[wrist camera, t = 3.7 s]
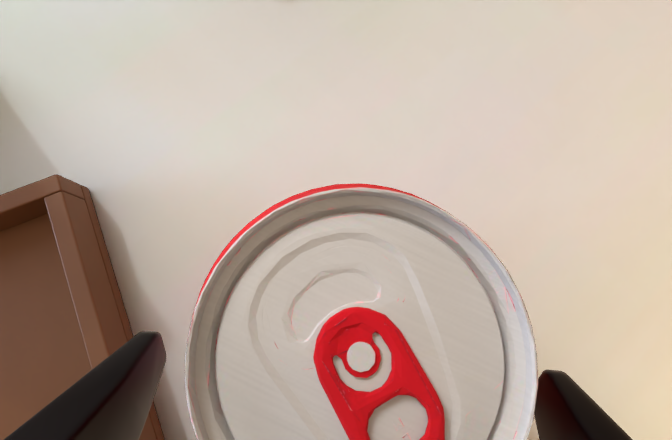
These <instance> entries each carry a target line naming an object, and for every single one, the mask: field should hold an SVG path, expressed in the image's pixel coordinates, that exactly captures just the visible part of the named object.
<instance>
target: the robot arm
mask: <svg viewBox="0 0 672 440" xmlns="http://www.w3.org/2000/svg"><path fill="white" fill-rule="evenodd" d="M165 362H166V352H165V348H164V345H163V341H162V337H161V335H160V334H159V333H158V332H151V331H142V332H140V333H138V334H137V335H135V336H134V337H133V338H131V339H130V340H129V341H128V342H126V343H125V344H124V345H123V346H121V347H120V348H119V349H118V350H116V351H115V352H114V353H112V354H111V355H110V356H109V357H107V358H106V359H105V360H104V361H102V362H101V363H100V364H99V365H97V366H96V367H95V368H94V369H92V370H91V371H90V372H88V373H87V374H86V375H85V376H83V377H82V378H81V379H80V380H78V381H77V382H76V383H75V384H73V385H72V386H71V387H69V388H68V389H67V390H66V391H64V392H63V393H62V394H61V395H59V396H58V397H57V398H56V399H54V400H53V401H52V402H50V403H49V404H48V405H47V406H45V407H44V408H43V409H42V410H40V411H39V412H38V413H37V414H35V415H34V416H33V417H32V418H30V419H29V420H28V421H26V422H25V423H24V424H23V425H21V426H20V427H19V428H18V429H16V430H15V431H14V432H13V433H11V434H10V435H9V436H7V437H6V438H5V439H4V440H139V437H140V435H141V433H142V430H143V428H144V425H145V422H146V419H147V416H148V413H149V410H150V407H151V405H152V402H153V399H154V396H155V393H156V390H157V387H158V384H159V381H160V378H161V375H162V372H163V369H164V366H165ZM534 415H535V420H536V425H537V430H538V435H539V440H632V439H631V438H630V437H629V436H628V435H627V434H626V433H625V432H624V431H623V430H622V429H621V428H620V427H619V426H618V425H617V424H616V423H615V422H614V421H613V420H612V419H611V418H610V417H609V416H608V415H607V414H606V413H605V412H604V411H603V410H602V409H601V408H600V407H599V406H598V405H597V404H596V403H595V402H594V401H593V400H592V399H591V398H590V397H589V396H588V395H587V394H586V393H585V392H584V391H583V390H582V389H581V388H580V387H579V386H578V385H577V384H576V383H575V382H574V381H573V380H572V379H571V378H570V377H569V376H568V375H567V374H566V373H564V372H562V371H556V370H545V371H543V372H542V374H541V375H540V377H539V379H538V390H537V397H536V404H535V411H534Z"/></svg>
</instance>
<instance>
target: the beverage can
mask: <svg viewBox="0 0 672 440" xmlns="http://www.w3.org/2000/svg"><path fill="white" fill-rule="evenodd" d="M185 387H186V397H187V404H188V409H189V413H190V418H191V423H192V426H193V429H194V431H195V434H196V437H197V440H527V439H528V435H529V432H530V429H531V425H532V422H533V418H534V411H535V404H536V397H537V390H538V370H537V353H536V346H535V341H534V335H533V330H532V325H531V322H530V319H529V316H528V313H527V310H526V308H525V305H524V302H523V299H522V297H521V295H520V293H519V291H518V289H517V287H516V285H515V283H514V281H513V279H512V278H511V276H510V274H509V272H508V270H507V269H506V268H505V266H504V265H503V264H502V262H501V261H500V260H499V259H498V257H497V256H496V255H495V253H494V252H493V251H492V249H491V248H490V247H489V246H488V245H487V244H486V243H485V242H484V241H483V240H482V239H481V238H480V237H479V236H478V235H477V234H476V233H475V232H474V231H473V230H471V229H470V228H469V227H468V226H467V225H465V224H464V223H463V222H461V221H460V220H458V219H457V218H455V217H454V216H453V215H451V214H450V213H448V212H446V211H445V210H443V209H441V208H439V207H438V206H436V205H434V204H432V203H430V202H428V201H426V200H424V199H422V198H419V197H417V196H415V195H413V194H410V193H407V192H403V191H400V190H397V189H393V188H389V187H383V186H377V185H370V184H336V185H331V186H326V187H321V188H316V189H311V190H308V191H305V192H303V193H300V194H297V195H294V196H291V197H289V198H287V199H285V200H283V201H281V202H279V203H277V204H275V205H273V206H272V207H270V208H269V209H267V210H266V211H264V212H263V213H262V214H260V215H259V216H258V217H256V218H255V219H253V220H252V221H251V222H249V223H248V224H247V225H246V226H245V227H244V228H243V229H242V230H241V231H240V232H239V233H238V234H237V235H236V236H235V237H234V238H233V239H232V240H231V241H230V243H229V244H228V245H227V246H226V247H225V249H224V250H223V251H222V253H221V254H220V256H219V257H218V259H217V260H216V262H215V263H214V265H213V267H212V268H211V270H210V272H209V274H208V276H207V278H206V280H205V282H204V284H203V287H202V289H201V291H200V294H199V297H198V300H197V303H196V306H195V310H194V313H193V317H192V321H191V324H190V329H189V335H188V340H187V347H186V356H185Z"/></svg>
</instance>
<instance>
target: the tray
mask: <svg viewBox="0 0 672 440" xmlns="http://www.w3.org/2000/svg"><path fill="white" fill-rule="evenodd" d="M131 338H133V334H132V331H131V327H130V324H129V321H128V318H127V314H126V311H125V308H124V304H123V301H122V298H121V295H120V291H119V288H118V285H117V281H116V278H115V275H114V271H113V268H112V265H111V262H110V258H109V255H108V252H107V248H106V245H105V242H104V238H103V235H102V232H101V229H100V225H99V222H98V219H97V215H96V212H95V209H94V206H93V202H92V199H91V196H90V192H89V189H88V188H87V187H84V186H82V185H79V184H77V183H75V182H73V181H71V180H69V179H66V178H64V177H62V176H60V175H53V176H50V177H48V178H45V179H42V180H40V181H37V182H34V183H32V184H29V185H26V186H24V187H21V188H18V189H15V190H13V191H10V192H7V193H5V194H2V195H0V440H4V439H5V438H6V437H7V436H9V435H10V434H11V433H13V432H14V431H15V430H16V429H18V428H19V427H20V426H21V425H23V424H24V423H25V422H26V421H28V420H29V419H30V418H32V417H33V416H34V415H35V414H37V413H38V412H39V411H40V410H42V409H43V408H44V407H45V406H47V405H48V404H49V403H50V402H52V401H53V400H54V399H56V398H57V397H58V396H59V395H61V394H62V393H63V392H64V391H66V390H67V389H68V388H69V387H71V386H72V385H73V384H75V383H76V382H77V381H78V380H80V379H81V378H82V377H83V376H85V375H86V374H87V373H88V372H90V371H91V370H92V369H94V368H95V367H96V366H97V365H99V364H100V363H101V362H102V361H104V360H105V359H106V358H107V357H109V356H110V355H111V354H112V353H114V352H115V351H116V350H118V349H119V348H120V347H121V346H123V345H124V344H125V343H126V342H128V341H129V340H130V339H131ZM139 440H164V436H163V433H162V430H161V426H160V423H159V420H158V417H157V413H156V410H155V407H154V403H153V402H152V405H151V407H150V410H149V413H148V416H147V419H146V422H145V425H144V428H143V430H142V433H141V435H140V437H139Z"/></svg>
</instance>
